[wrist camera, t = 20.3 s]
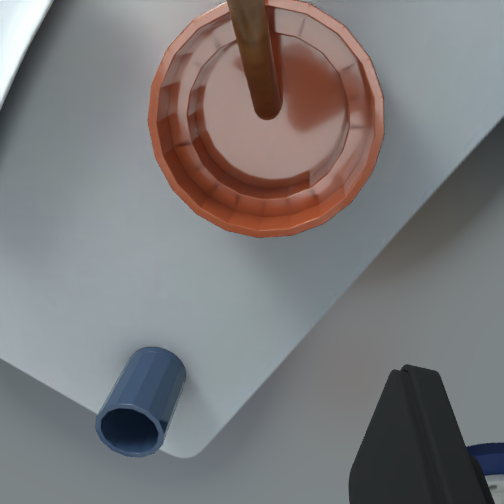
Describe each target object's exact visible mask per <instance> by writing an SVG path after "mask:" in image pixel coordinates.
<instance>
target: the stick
mask: <svg viewBox="0 0 504 504" xmlns="http://www.w3.org/2000/svg"><path fill="white" fill-rule="evenodd" d="M227 4H228V8H229V12H230V16H231V20H232V24H233V28H234V32H235V36H236V40H237V44H238V48H239V51H240V55H241V59H242V63H243V67H244V71H245V75H246V79H247V83H248V87H249V91H250V95H251V99H252V103H253V107H254V111H255V113H256V115H257V116H258V117H259V118H261V119H263V120H271V119H274V118H275V117H277V116H278V114H279V113H280V111H281V99H280V93H279V87H278V81H277V76H276V70H275V64H274V58H273V52H272V46H271V40H270V34H269V28H268V22H267V16H266V11H265V5H264V0H227Z"/></svg>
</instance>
